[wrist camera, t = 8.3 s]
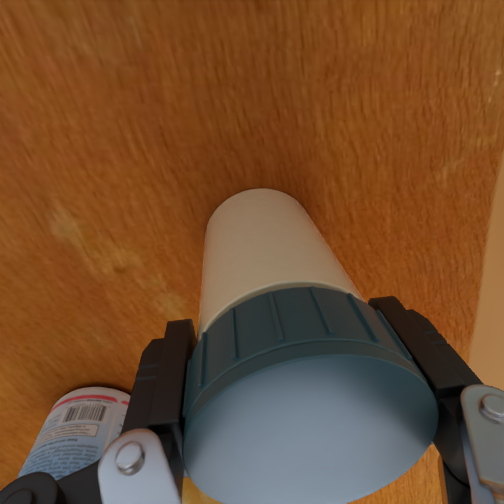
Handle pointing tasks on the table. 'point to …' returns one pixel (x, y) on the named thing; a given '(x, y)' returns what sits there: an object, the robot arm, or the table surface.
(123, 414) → the pill bottle
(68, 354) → the table surface
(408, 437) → the lid
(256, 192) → the jar
